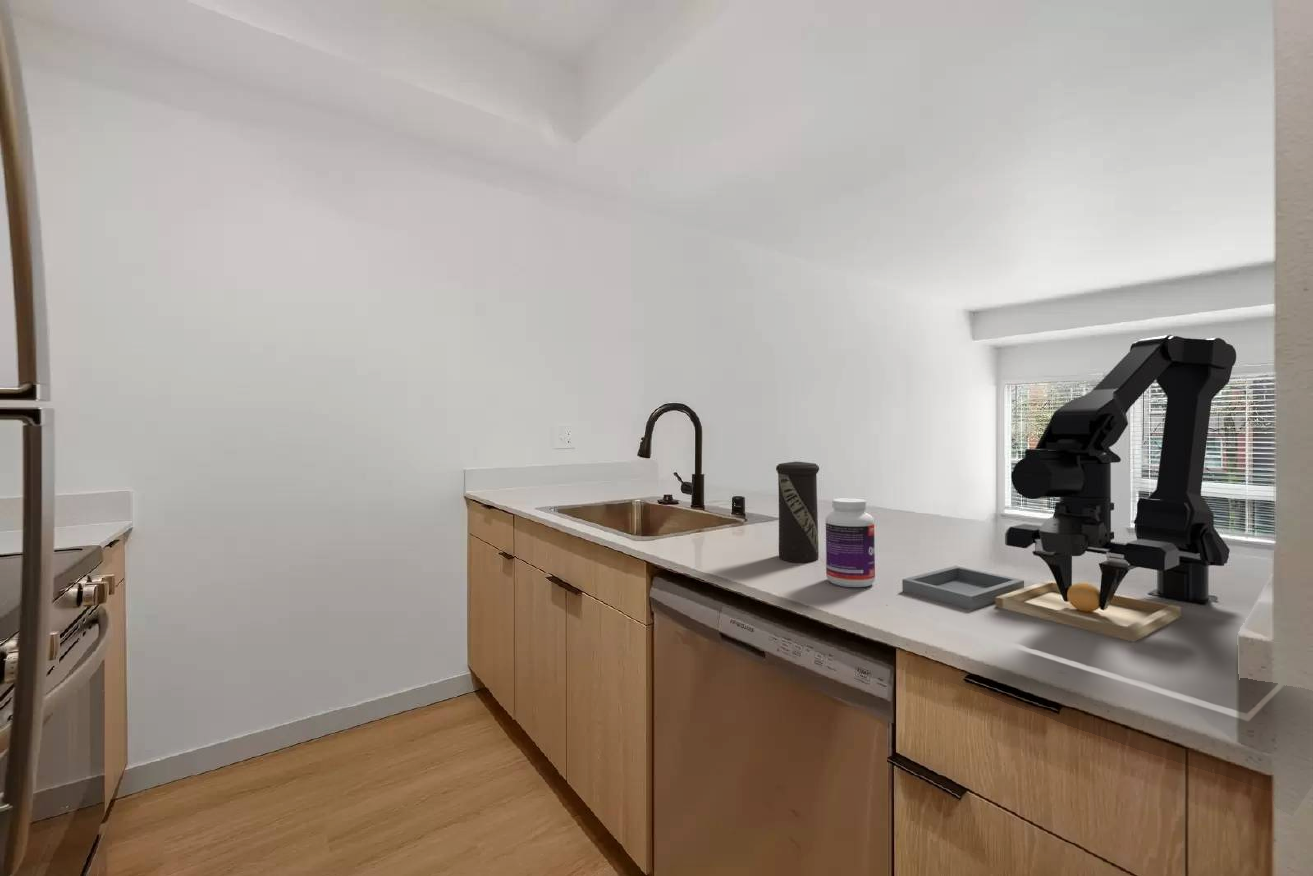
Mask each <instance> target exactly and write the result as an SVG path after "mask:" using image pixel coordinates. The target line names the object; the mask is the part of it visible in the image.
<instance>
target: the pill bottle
mask: <svg viewBox="0 0 1313 876" xmlns="http://www.w3.org/2000/svg"><path fill="white" fill-rule="evenodd" d="M832 508H833V511H832V512H830V513H828V514H827V515H826V516H825V575H826V578H827V580H828V581H829V583H832V584H834V585H836V586H838V587H839V586H840V587H844V588H864V587H865V588H866V587H869V586H872V585H873V583H874V582H875V581H876V556H875V555H876V552H875V551H876V549H875V548H876V547H875V544H876V543H875V541H876V539H875V538H876V537H875V520H874V517H873V516H872V515H871V514H870V513H868V512H866V509H867V500H865V499H862V498H851V497H849V498H848V497H841V498H833V499H832Z"/></svg>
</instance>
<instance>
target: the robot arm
mask: <svg viewBox="0 0 1313 876" xmlns="http://www.w3.org/2000/svg"><path fill="white" fill-rule="evenodd" d="M1236 361H1237V352H1236V349H1235V347H1234V345H1232V344H1230V343H1227V342H1226V341H1225V339H1223V338H1220V337H1213V338H1205V339H1203V338H1188V337H1187V338H1186V337H1182V336H1178V335H1172V334H1169V335H1162V336H1154V337H1147V338H1141V339H1139V340H1137V341H1134V342H1132V344H1131V345H1130V349H1129V352H1128V353H1127V354H1126V355H1125V356H1123V358H1122V359H1120V361H1119V362H1118V363H1117V364H1116V365H1115V366H1114V367H1113V369H1111V370H1110V371H1109V372H1108V374H1106V376H1104V378H1103V379H1102V380H1101V381H1100V382H1099V383H1098V384H1097V385H1096V386H1095V387H1094V388H1093V389H1091V391H1089V392H1088V393H1087V394H1084V395H1081V396H1079V397H1076V398H1074V399H1071V400H1069V401H1068V402H1066V403H1064V404H1063V405H1062V406H1061V407H1059V408H1057V409H1056V410H1055V411H1054V413H1053V414H1052V415H1051V418H1050V419H1049V423H1048V424H1047V426H1046V428H1045V430H1044V432H1043V433H1042V435H1041V437H1040V439H1039V441H1038V442H1037V444H1036V446H1035V448H1025V451H1024V454H1025V455H1024V458H1022V459H1020V460H1019V461H1018V462H1016V463H1015V465H1014V467H1013V469H1012V471H1011V473H1010V474H1011V475H1010V477H1011V483H1012V486H1013V488H1014V489H1015V491H1016V492H1017V494H1019V495H1020V496H1021V497H1023V498H1026V499H1029V500H1039V499H1052V498H1059V501H1057V502H1055V505H1054V513H1053V515H1052V517H1049V518H1048V519H1047V520H1046V521H1044V523H1043V524H1042V525H1034V524H1028V523H1023V524H1018V525H1013V526H1012V525H1011V526H1009V527H1008V528H1007V530H1006V531H1005V533H1004V542H1005V543H1004V544H1005V546H1008V547H1012V548H1013V547H1014V548H1020V549H1028V548H1029V547H1031V546H1032V545H1034V550H1032V551H1031V552H1032V554H1033V556H1036V557H1039V558H1040V559H1041V560H1042V561H1044V563H1046V565H1047V566H1048V568H1049V570H1050V572H1051V574H1052V576H1053V578H1054V581H1055V582H1056V583H1057V586H1058V588H1059V590H1060V593H1061V595H1062V598H1063V600H1064V601H1065V602H1069V600H1068V598H1067V592H1068V589H1069V588H1070V587H1071V586H1072V585H1073V557H1081V556H1084V554H1085V553H1086V552H1088V553H1095V554H1099V555H1105V558H1106V560H1105V561H1102V562H1099V563H1098V567H1099V570H1100V572H1101V573H1100V574H1101V578H1100V589H1099V590H1100V598H1099V601H1100V609H1101V610H1106V609H1107V607H1108V605H1109V603H1110V602H1111V600H1112V598H1113V596H1114V594H1116V592H1117V590H1118V588H1119V586H1120V584H1121V583H1122V582H1123V579H1125V577H1126V576H1127V574H1128V573H1129V572H1130V571H1131V570H1134V569H1136V568H1141V569H1142V568H1143V569H1148V570H1153V571H1156V588H1155V589H1153V590H1151V591H1149V592H1147V595H1149V596H1153V597H1159V598H1164V599H1168V600H1174V601H1179V602H1183V603H1184V602H1185V603H1189V604H1194V605H1199V606H1206V605H1208V604H1210V603H1215V602H1217V601H1218V600H1219V599H1218V596H1216V595H1211V594H1209V593H1210V592H1209V590H1210V589H1209V586H1210V585H1209V583H1210V581H1209V577H1210V575H1209V573H1210V570H1209V567H1210V566H1216V567H1224V566H1225V564H1227V563H1228V559H1229V557H1230V556H1229V555H1230V548H1229V546H1228V545H1227V543H1226V542H1225V541H1224V540H1223V538H1222V537H1221V536H1220V534H1219V532H1218V531H1217V530H1216V528H1215V527H1214V526H1215V522H1214V520H1215V515H1214V512H1213V511H1212V509H1211V508H1210V506H1209V505H1208V504H1207V502H1206V501H1205V499H1204V497H1203V496H1202V486H1203V477H1204V468H1205V460H1206V451H1207V445H1208V444H1207V442H1208V434H1209V426H1210V417H1211V409H1212V403H1213V402H1212V401H1213V399H1214V398H1215V397H1216V396H1217V395H1218V394H1219V393H1220V392H1221V391H1222V390H1223V388H1225V387H1226V386H1227V385H1228V383H1229V382H1230V380H1231V375H1232V371H1233V367H1234V366H1235V364H1236ZM1155 382H1156V383H1157V385H1158V386H1159V387H1160V389H1161V390H1162V392H1163V393H1164V394H1165V397H1166V405H1165V406H1166V407H1165V415H1164V422H1163V423H1164V424H1163V431H1162V439H1161V447H1160V455H1159V462H1158V463H1159V465H1158V471H1157V480H1156V487H1155V490H1154V491H1153V492H1152V493H1151V494H1150V495H1148V497H1140V498H1139V500H1137V502H1136V516H1135V518H1134V521H1133V524H1134V532H1135V536H1136V539H1135V540H1132V541H1129V542H1126V543H1124V542H1117V541H1112V540H1114V539H1115V531H1112V515H1111V514H1112V513H1111V512H1112V511H1115V502H1112V482H1111V481H1112V473H1111V472H1112V470H1111V469H1112V463H1113V464H1115V463H1121V461H1122V460H1121V459H1122V458H1121V457H1120V456H1119V455H1118V454H1117V453H1115V452H1114V451H1113V450H1112V449H1111V447H1112V446H1115V444H1117V442H1118V441H1119V439H1121V436H1122V435H1123V433H1124V432H1125V430H1126V428H1127V427H1128V426H1129V421H1128V415H1127V413H1128V411H1129V410H1130V408H1132V406H1133V405H1134V404H1135V403H1136V402H1137V401H1138V400H1139V399H1140V397H1142V395H1143V394H1144V393H1145V392H1146V391H1147V390H1148V389H1149V387H1150V386H1151V385H1153V383H1155Z"/></svg>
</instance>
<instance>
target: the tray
mask: <svg viewBox="0 0 1313 876" xmlns="http://www.w3.org/2000/svg"><path fill="white" fill-rule="evenodd" d="M901 584H902V588H901V589H902V590H901V591H902V592H904V593H908V594H911V595H915V596H919V597H921V598H922V597H923V598H926V599H928V600H932V601H936V602H941V603H944V604H947V605H951V606H954V607H957V608H962V609H966V610H969V611H974V610H976V609H980V608H981V607H982V608H983V607H986V606H988V605H991V604H995V597H998V596H1001V595H1004V594H1007V593H1010V592H1013V591H1016V590H1019V589H1022V588H1025V580H1024V579H1020V578H1014V577H1010V576H1005V575H1000V574H996V573H992V572H991V573H990V572H986V571H981V570H976V569H973V568H969V567H968V568H966V567H963V566H959V565H955V566H954V565H953V566H950V567H946V568H941V569H938V570H934V571H929V572H925V573H921V574H918V575H917V574H916V575H914V576H910V577H905V578H902V583H901Z"/></svg>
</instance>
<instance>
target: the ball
mask: <svg viewBox="0 0 1313 876" xmlns="http://www.w3.org/2000/svg"><path fill="white" fill-rule="evenodd" d="M1099 590H1100V589H1099V588H1097V587H1096V586H1095V585H1094V584H1091V583H1089V582H1081V581H1080V582H1075V583H1074V584H1073V583H1072V586H1071V587H1070V588H1069V589H1068V592H1067V598H1068V600H1069V602H1070V604H1071V605H1072V606H1073V607H1075V608H1076V609H1078V610H1081V611H1084V612H1092V611H1095V610H1097V609H1099V608H1100V601H1099V598H1100V591H1099Z"/></svg>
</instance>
